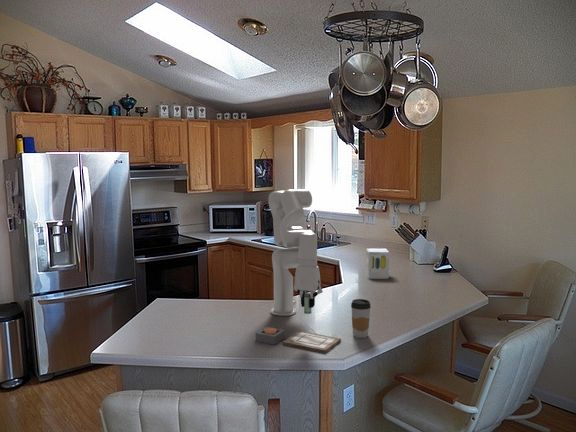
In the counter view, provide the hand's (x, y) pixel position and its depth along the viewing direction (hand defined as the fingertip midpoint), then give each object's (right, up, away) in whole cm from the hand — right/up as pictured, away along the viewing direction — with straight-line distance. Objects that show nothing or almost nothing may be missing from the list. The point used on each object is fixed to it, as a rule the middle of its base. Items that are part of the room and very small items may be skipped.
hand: (307, 306), depth 203 cm
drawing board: (+2, -15, -1) cm, 15 cm away
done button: (-16, -12, +3) cm, 20 cm away
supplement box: (+50, -2, +117) cm, 127 cm away
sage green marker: (0, -3, 0) cm, 3 cm away
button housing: (-16, -14, +3) cm, 21 cm away
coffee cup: (+23, -14, +8) cm, 28 cm away
